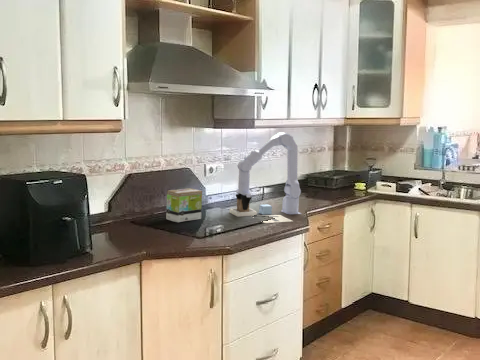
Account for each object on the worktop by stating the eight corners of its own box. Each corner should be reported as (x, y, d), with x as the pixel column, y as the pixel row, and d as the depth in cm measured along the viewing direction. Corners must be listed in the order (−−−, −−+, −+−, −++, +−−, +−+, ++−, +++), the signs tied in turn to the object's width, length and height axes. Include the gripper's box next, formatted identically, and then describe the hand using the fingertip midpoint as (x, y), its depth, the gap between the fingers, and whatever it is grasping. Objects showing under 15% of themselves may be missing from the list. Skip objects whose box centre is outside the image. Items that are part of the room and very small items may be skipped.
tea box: (178, 223, 273) (179, 192, 271) (165, 219, 280) (166, 190, 278) (201, 219, 284) (202, 190, 282) (188, 215, 291) (189, 187, 289)
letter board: (251, 217, 292) (251, 216, 291) (279, 215, 297) (279, 214, 297) (264, 223, 277) (264, 222, 277) (293, 222, 283) (293, 221, 283)
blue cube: (259, 214, 301) (259, 204, 301) (267, 213, 303) (268, 204, 302) (262, 215, 297) (263, 206, 296) (271, 215, 298) (271, 206, 298)
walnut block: (236, 210, 298) (237, 199, 297) (245, 209, 300) (245, 198, 299) (240, 212, 294) (240, 200, 293) (249, 211, 295) (249, 200, 295)
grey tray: (229, 213, 300) (229, 208, 300) (248, 212, 304) (248, 207, 304) (237, 217, 290) (237, 212, 290) (256, 216, 294) (256, 211, 294)
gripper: (231, 181, 300) (231, 206, 302) (242, 185, 287) (241, 211, 289) (244, 180, 303) (243, 205, 305) (254, 185, 289) (253, 211, 291)
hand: (243, 208), depth 297 cm, fingers closed on walnut block, 5 cm apart
